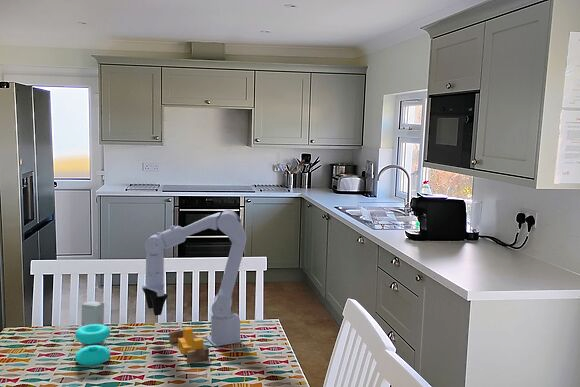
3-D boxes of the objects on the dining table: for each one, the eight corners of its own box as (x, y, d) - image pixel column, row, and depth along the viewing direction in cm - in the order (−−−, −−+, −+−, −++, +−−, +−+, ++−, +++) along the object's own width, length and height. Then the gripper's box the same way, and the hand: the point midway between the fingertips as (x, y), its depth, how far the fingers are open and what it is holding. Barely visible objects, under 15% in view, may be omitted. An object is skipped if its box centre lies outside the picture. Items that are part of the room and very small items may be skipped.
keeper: (188, 338, 186) (188, 328, 185) (208, 359, 169) (208, 348, 169) (169, 341, 182) (169, 331, 182) (187, 363, 166) (188, 352, 166)
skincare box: (80, 339, 182) (80, 304, 181) (88, 334, 186) (88, 300, 185) (96, 341, 180) (96, 306, 179) (104, 337, 185) (104, 302, 183)
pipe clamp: (177, 348, 178) (178, 328, 177) (190, 345, 180) (191, 327, 180) (189, 362, 168) (189, 341, 167) (202, 359, 170) (203, 339, 169)
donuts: (117, 325, 168) (94, 336, 159) (117, 357, 169) (94, 369, 160) (91, 320, 172) (67, 331, 162) (91, 351, 173) (67, 363, 164)
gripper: (137, 267, 185) (137, 306, 187) (148, 278, 173) (148, 319, 174) (157, 265, 189) (157, 304, 190) (170, 276, 176) (170, 316, 178)
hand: (154, 311), depth 182 cm, fingers open, 7 cm apart
